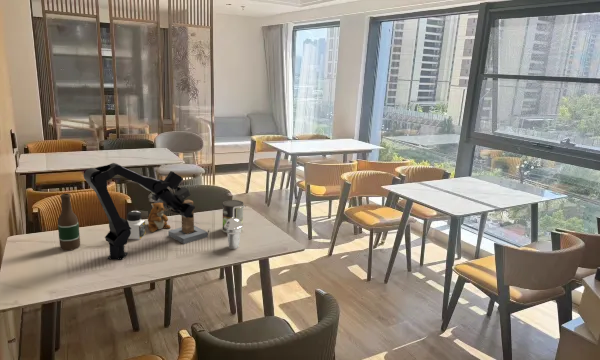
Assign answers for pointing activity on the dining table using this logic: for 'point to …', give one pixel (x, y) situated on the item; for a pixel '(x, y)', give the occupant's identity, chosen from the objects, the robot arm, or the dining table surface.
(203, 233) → the socket
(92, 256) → the dining table surface
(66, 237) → the beer bottle
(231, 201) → the coffee can
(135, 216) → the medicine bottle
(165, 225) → the stuffed squirrel
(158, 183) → the robot arm
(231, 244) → the cup with straw
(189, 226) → the peg
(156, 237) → the dining table surface
